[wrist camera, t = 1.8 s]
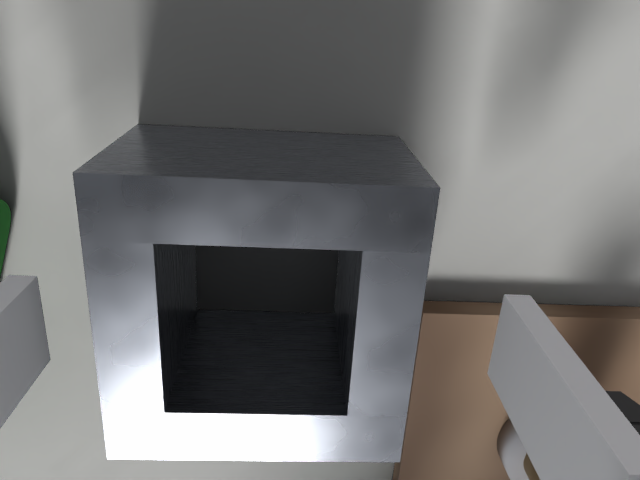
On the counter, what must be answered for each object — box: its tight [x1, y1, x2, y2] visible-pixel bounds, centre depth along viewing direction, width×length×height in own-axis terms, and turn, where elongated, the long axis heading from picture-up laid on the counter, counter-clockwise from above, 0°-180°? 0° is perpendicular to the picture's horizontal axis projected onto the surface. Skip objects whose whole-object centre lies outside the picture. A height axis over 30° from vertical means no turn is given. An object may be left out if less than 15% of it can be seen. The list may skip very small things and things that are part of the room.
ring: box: [73, 124, 440, 462], centre depth 18 cm, size 9×9×6 cm
